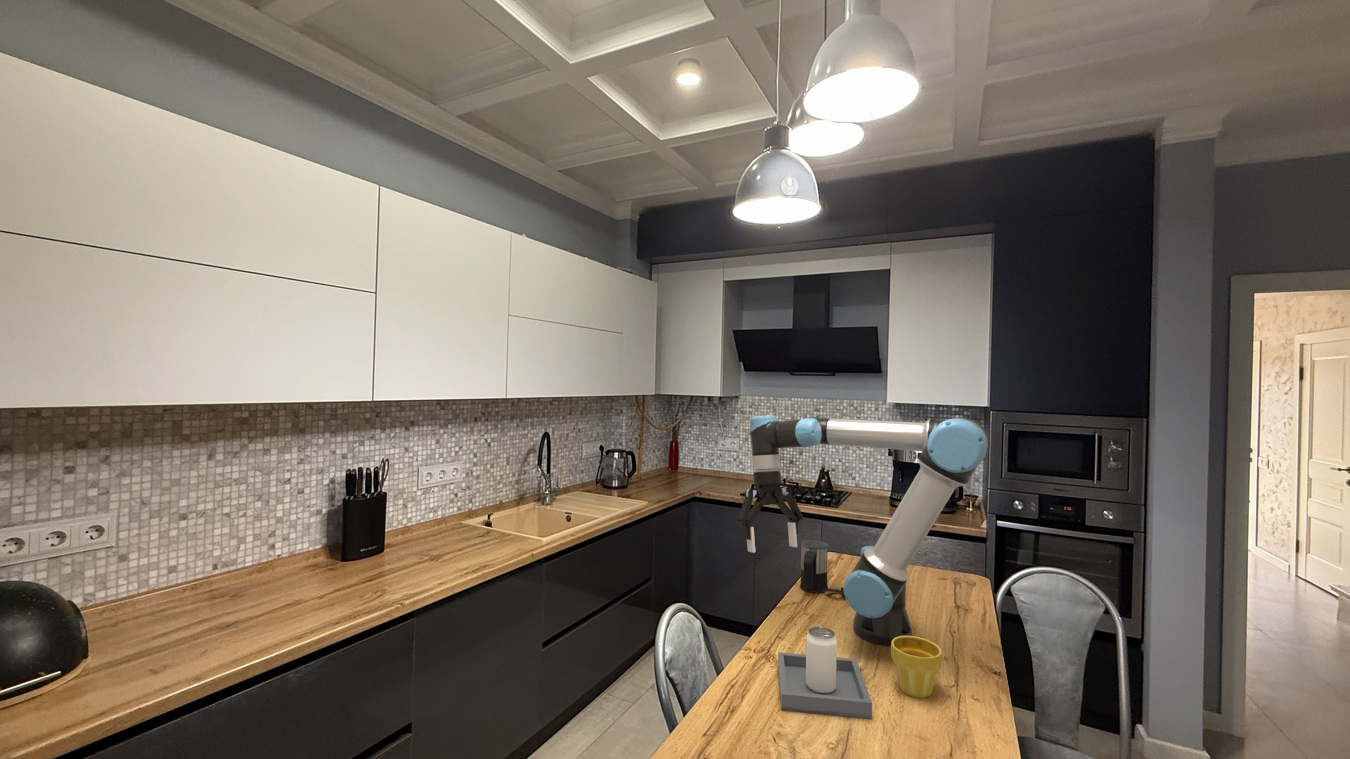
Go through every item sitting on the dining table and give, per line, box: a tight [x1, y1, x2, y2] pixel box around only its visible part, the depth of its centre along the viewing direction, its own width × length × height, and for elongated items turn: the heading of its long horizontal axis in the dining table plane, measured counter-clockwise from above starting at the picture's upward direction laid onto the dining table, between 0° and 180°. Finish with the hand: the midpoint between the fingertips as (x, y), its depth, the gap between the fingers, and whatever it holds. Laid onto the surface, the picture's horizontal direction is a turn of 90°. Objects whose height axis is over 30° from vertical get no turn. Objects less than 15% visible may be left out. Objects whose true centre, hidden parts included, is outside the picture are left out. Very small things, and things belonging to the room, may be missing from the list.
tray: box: [777, 651, 873, 720], centre depth 121 cm, size 18×18×3 cm
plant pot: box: [890, 635, 943, 699], centre depth 122 cm, size 10×10×10 cm
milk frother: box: [799, 539, 845, 597], centre depth 179 cm, size 14×16×15 cm
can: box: [805, 626, 837, 694], centre depth 121 cm, size 6×6×12 cm
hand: (772, 549), depth 149 cm, fingers open, 13 cm apart
